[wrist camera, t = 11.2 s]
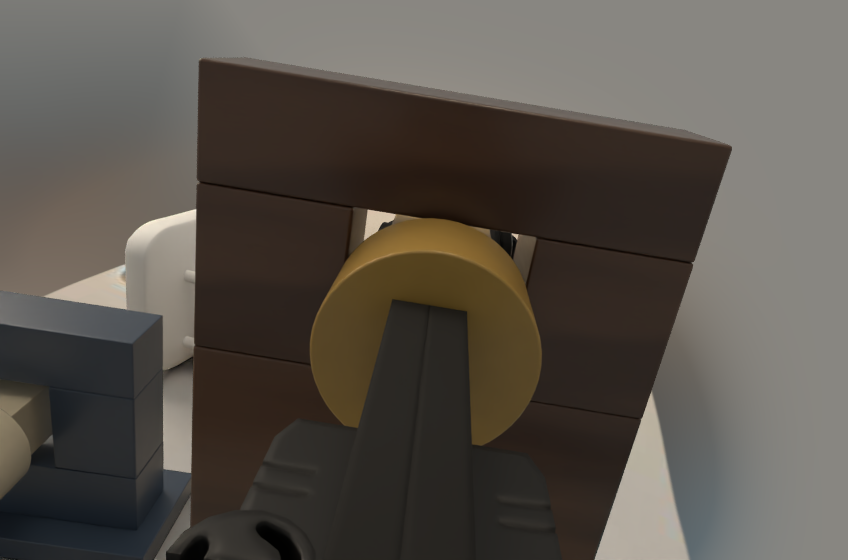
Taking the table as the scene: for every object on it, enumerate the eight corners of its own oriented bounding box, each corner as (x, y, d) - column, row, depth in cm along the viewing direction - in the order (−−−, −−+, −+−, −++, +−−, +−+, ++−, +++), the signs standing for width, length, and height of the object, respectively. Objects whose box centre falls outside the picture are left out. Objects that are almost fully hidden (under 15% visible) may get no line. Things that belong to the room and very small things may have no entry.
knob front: (515, 474, 13) (567, 272, 11) (299, 439, 13) (319, 231, 11) (498, 342, 19) (530, 197, 18) (350, 317, 19) (368, 170, 18)
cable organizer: (245, 427, 40) (254, 264, 35) (121, 379, 43) (115, 222, 38) (350, 342, 53) (365, 216, 49) (250, 309, 56) (256, 188, 52)
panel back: (143, 577, 28) (139, 364, 24) (-159, 535, 28) (-215, 311, 24) (193, 490, 34) (197, 305, 30) (-58, 454, 33) (-89, 262, 29)
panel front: (544, 864, 20) (817, 165, 12) (137, 798, 20) (115, 49, 12) (526, 689, 26) (702, 130, 17) (207, 637, 26) (226, 51, 17)
